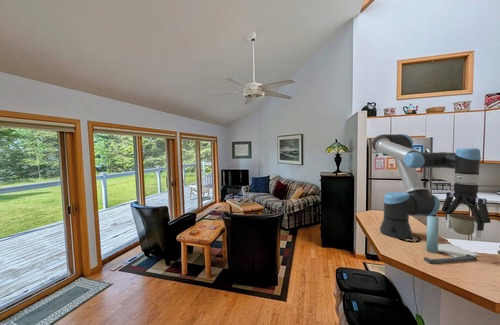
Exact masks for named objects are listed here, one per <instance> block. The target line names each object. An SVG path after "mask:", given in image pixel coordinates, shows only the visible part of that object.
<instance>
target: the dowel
mask: <svg viewBox="0 0 500 325" xmlns="http://www.w3.org/2000/svg"><path fill="white" fill-rule="evenodd" d="M438 244H439V217H438V216H435V215H432V216H426V248H425V249H426V251H427V252H428V253H432V254H438V252H439V250H438Z"/></svg>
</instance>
